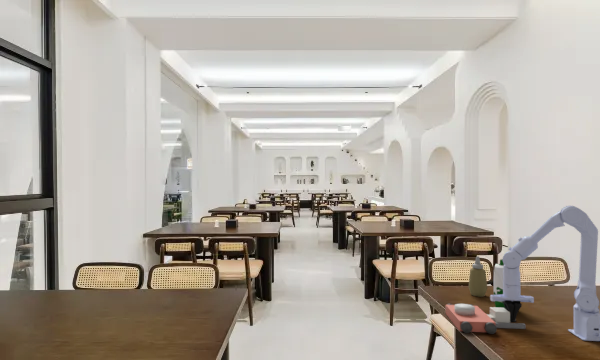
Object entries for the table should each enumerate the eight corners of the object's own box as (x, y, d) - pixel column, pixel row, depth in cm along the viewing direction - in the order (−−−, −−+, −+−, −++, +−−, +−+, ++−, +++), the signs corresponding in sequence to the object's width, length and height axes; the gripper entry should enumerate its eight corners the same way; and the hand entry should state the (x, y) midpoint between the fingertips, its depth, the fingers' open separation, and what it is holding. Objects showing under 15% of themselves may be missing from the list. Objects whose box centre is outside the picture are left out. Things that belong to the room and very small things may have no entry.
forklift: (534, 335, 136) (534, 318, 136) (460, 332, 139) (460, 315, 139) (507, 314, 159) (507, 299, 159) (444, 312, 162) (444, 297, 162)
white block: (510, 326, 145) (510, 312, 145) (488, 325, 146) (488, 311, 146) (503, 320, 151) (503, 307, 151) (482, 320, 152) (482, 306, 152)
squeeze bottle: (464, 294, 190) (464, 255, 190) (477, 292, 193) (476, 254, 193) (478, 298, 182) (478, 258, 183) (491, 296, 186) (491, 257, 186)
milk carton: (517, 308, 167) (517, 260, 168) (517, 314, 159) (517, 263, 160) (494, 305, 171) (493, 258, 172) (493, 311, 163) (493, 261, 164)
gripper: (527, 282, 151) (527, 318, 151) (487, 281, 153) (487, 316, 153) (536, 286, 144) (536, 324, 144) (494, 285, 146) (494, 323, 146)
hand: (511, 321), depth 148 cm, fingers closed
